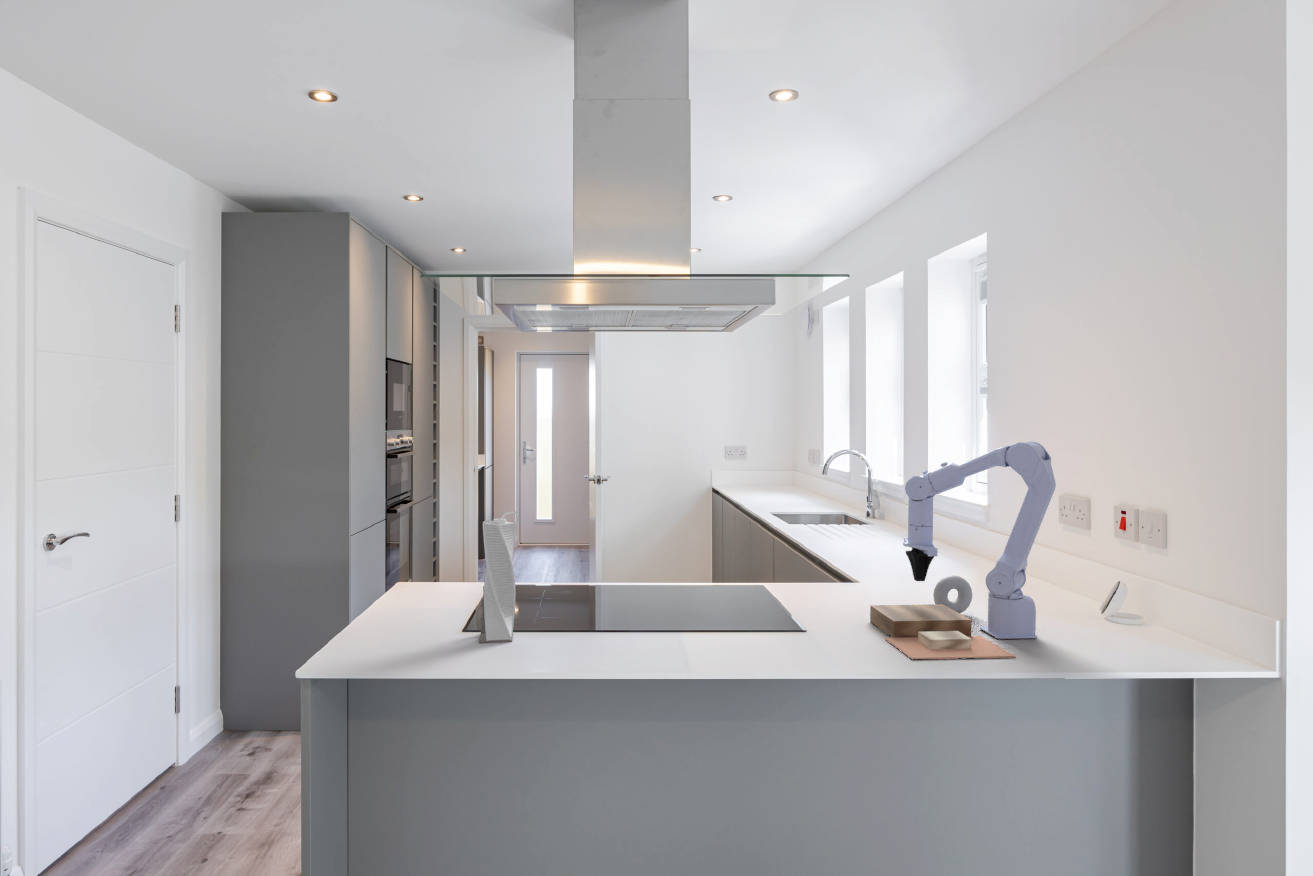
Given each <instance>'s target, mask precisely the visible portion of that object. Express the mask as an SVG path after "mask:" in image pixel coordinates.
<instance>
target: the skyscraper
mask: <svg viewBox="0 0 1313 876" xmlns="http://www.w3.org/2000/svg"><path fill="white" fill-rule="evenodd" d="M509 514H510V515H511V514H515V515H516V517H515V518H516V519H515V521H514V522H511V521H507V518H505V517H506V516H507V515H509ZM519 516H520V513H519V512H518V511H513V510H512V511H511V510H510V511H506V512H504V513H503V515H501V518H498V517H497V518H493V520H484V521H482V533H483V534H482V535H483V547H484V556H485V562H486V564H485V565H486V566H485V572H484V579H483V580H484V585H483V590H482V591H483V593H482V594H483V595H482V597H481V608H482V609H481V617H480V623H481V629H480V634H479V640H478V644H488V643H489V644H490V643H491V644H492V643H493V644H494V643H512V642H513V632H514V625H515V615H516V614H515V611H516V578H515V570H514V565H513V558H514V553H515V552H514V551H515V546H516V539H517V538H516V536H517V526H518V525H517V523H518V520H519Z"/></svg>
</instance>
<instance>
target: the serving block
mask: <svg viewBox="0 0 1313 876" xmlns="http://www.w3.org/2000/svg"><path fill="white" fill-rule="evenodd" d="M869 611H870V612H869V613H870V614H869V615H870V617H869V619H870V620H869V621H870V623H871V624H872V625H874V626H875V627H876V626H877V627H876V628H878V629H879V628H880V629H881V630H880V629H879V630H880V631H882V632H883V631H884V632H885V633H884V632H883V633H884V634H886V633H887V634H888V635H887V634H886V635H887V636H889V635H890V636H891V637H892V638H904V637H918V632H927V631H959V632H960V633H962V634H964V635H965V636H972V625H973V624H972V622H973V621H972V620H973V619H971V618H969V617H968V616H966V615H964V614H962V613H958V612H956V611H954V610H952V609H951V608H949V607H947V606H945V605H943V604H935V603H934V604H930V603H929V604H883V605H881V604H875V605H874V604H872V605H871V604H870V610H869ZM890 636H889V637H890ZM891 637H890V638H891Z"/></svg>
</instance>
